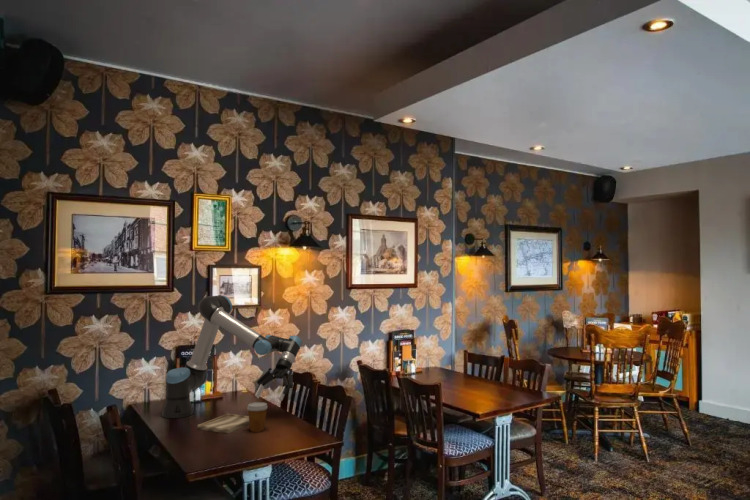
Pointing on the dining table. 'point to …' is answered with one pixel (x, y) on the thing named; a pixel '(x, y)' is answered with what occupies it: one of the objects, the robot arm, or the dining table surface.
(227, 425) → the striped beige cloth
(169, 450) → the dining table surface
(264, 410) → the disposable coffee cup
